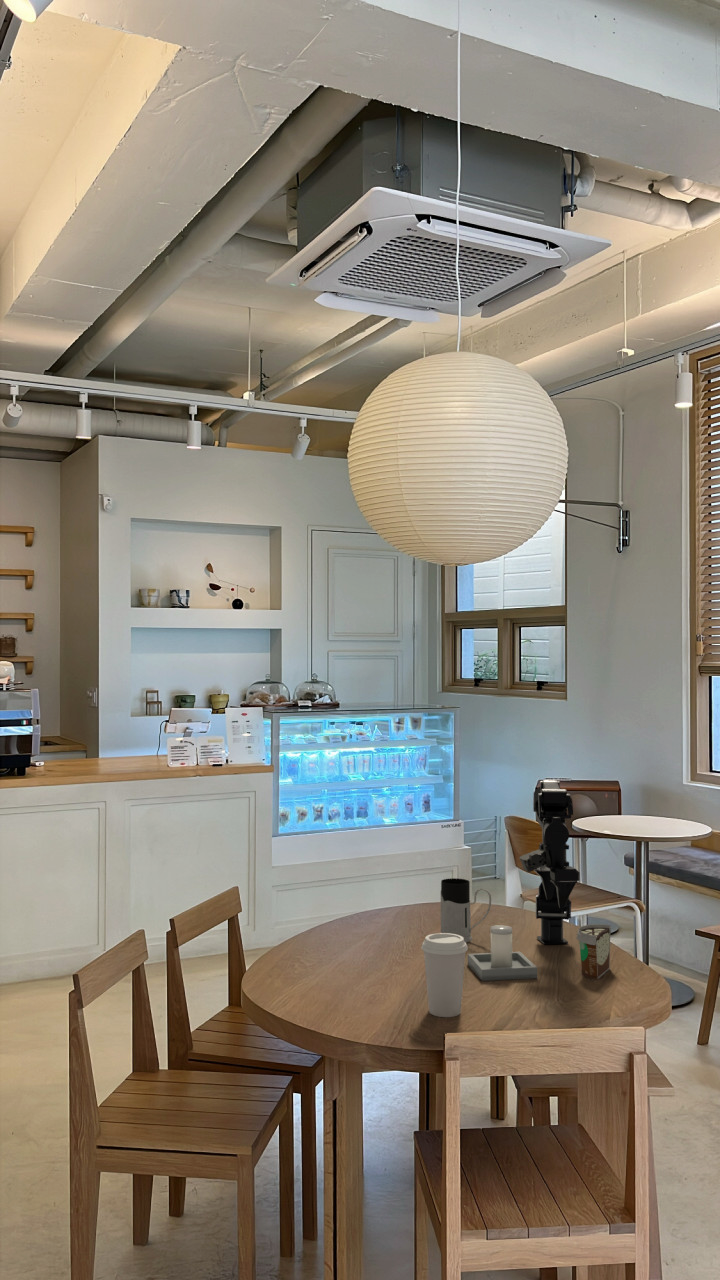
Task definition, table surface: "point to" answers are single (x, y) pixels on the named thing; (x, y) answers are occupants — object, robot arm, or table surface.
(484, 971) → the tray
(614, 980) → the table surface
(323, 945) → the table surface
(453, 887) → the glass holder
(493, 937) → the cylinder
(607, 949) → the food container
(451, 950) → the coffee cup
